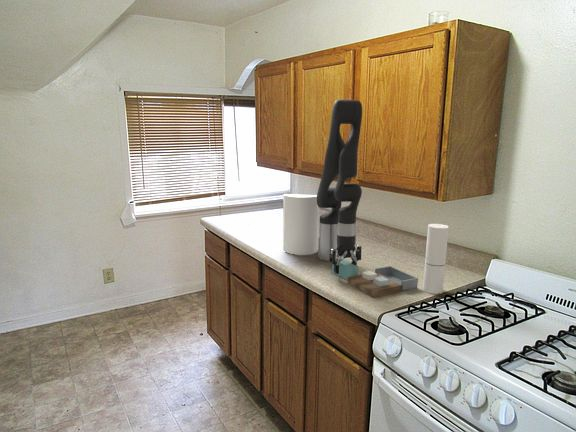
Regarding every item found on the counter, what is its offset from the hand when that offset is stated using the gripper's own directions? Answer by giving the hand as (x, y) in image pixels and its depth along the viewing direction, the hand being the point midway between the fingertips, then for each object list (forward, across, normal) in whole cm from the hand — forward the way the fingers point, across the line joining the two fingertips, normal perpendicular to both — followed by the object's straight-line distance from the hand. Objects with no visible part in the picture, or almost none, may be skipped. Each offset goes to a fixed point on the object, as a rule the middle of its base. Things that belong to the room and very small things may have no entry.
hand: (345, 271), depth 170 cm
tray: (+2, -14, +14) cm, 20 cm away
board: (+2, -4, +14) cm, 15 cm away
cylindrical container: (+2, -22, +26) cm, 34 cm away
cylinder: (+2, -2, -41) cm, 41 cm away
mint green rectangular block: (+2, 0, 0) cm, 2 cm away
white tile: (0, -4, +11) cm, 12 cm away
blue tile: (0, -4, +18) cm, 18 cm away
